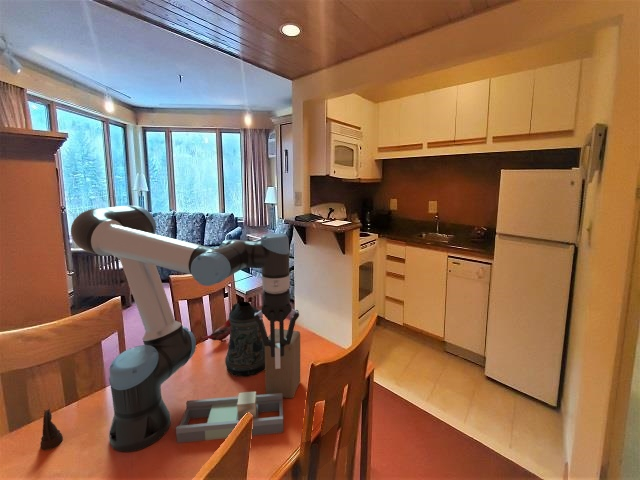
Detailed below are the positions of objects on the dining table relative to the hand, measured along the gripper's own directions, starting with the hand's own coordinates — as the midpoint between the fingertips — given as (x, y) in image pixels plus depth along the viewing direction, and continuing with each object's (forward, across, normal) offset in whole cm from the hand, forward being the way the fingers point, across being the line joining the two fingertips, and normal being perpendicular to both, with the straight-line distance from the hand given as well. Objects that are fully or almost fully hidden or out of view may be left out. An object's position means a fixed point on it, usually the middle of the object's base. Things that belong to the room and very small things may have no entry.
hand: (277, 365), depth 90 cm
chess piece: (+18, -61, -1) cm, 64 cm away
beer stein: (+18, -13, +31) cm, 38 cm away
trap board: (+18, -13, 0) cm, 22 cm away
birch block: (+15, -9, 0) cm, 17 cm away
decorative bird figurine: (+18, -26, +48) cm, 57 cm away
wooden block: (+18, +2, +14) cm, 23 cm away
